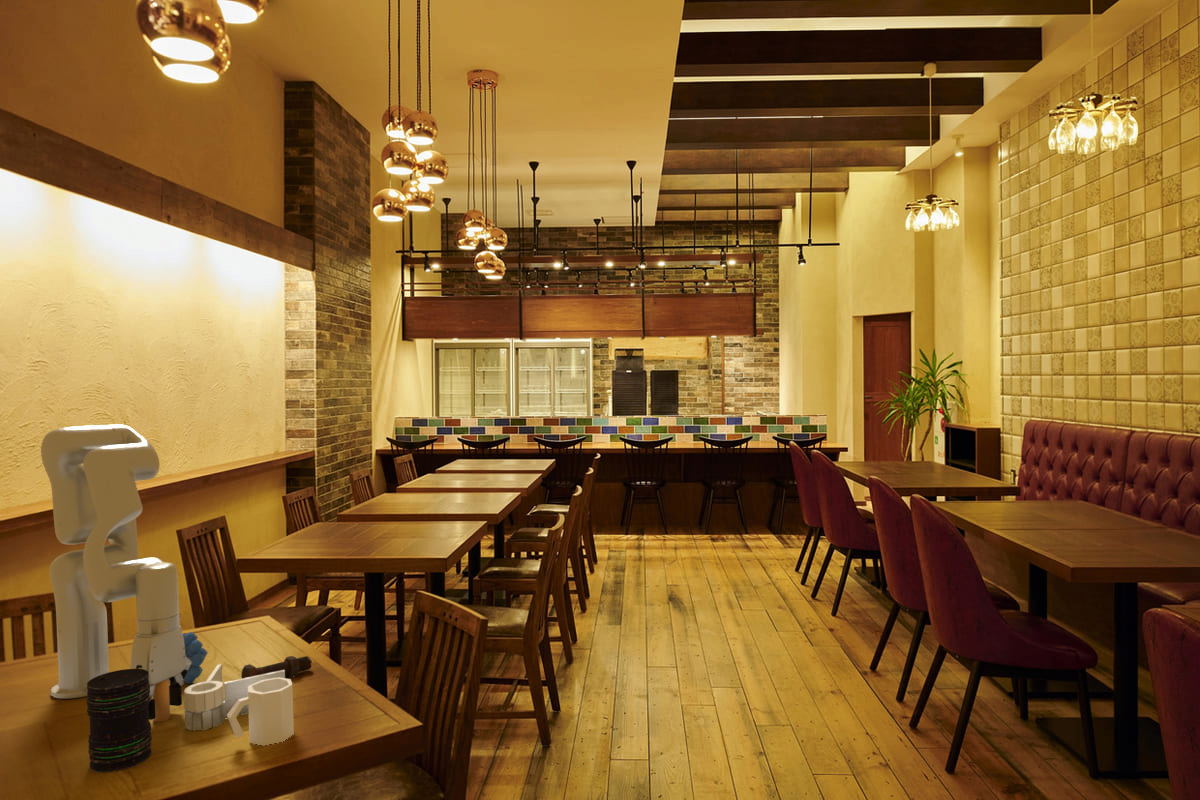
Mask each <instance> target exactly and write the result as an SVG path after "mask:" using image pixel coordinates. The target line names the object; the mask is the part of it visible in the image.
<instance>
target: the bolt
mask: <svg viewBox="0 0 1200 800" xmlns="http://www.w3.org/2000/svg"><path fill="white" fill-rule="evenodd" d="M312 663H313V661H312V659H311V658H310V656H307V655H306V656H302V657H296V656H292V655H290V656H286V657H285V659H284V661H281V662H277V663H273V664H269V665H265V666H261V667H256V666H254V665H252V664H251V663H248V664H246V665H244V667H242V669H241V679H243V678H247V677H252V676H257V675H262V674H266V673H271V672H276V671H281V670H284V671H285V677H287V676H288V677H287V678H290V677H292V678H294V677H293V676H295V677H297V676H298V675H299V673H301V672H306V671H308V670H310V669H311V668H312V666H313V665H312Z"/></svg>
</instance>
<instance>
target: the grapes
mask: <svg viewBox="0 0 1200 800" xmlns="http://www.w3.org/2000/svg"><path fill="white" fill-rule="evenodd" d="M183 638H184V645H185V656H186V657H187V658H188V659H189V660H191V662H192V663H191V665H190V667H189V669H188V671H187V674H186V676H185V678H184V683H186V684H188V685H189V684H193V682H195V681H196V679H198V678H199V677H200V676H201V675H202V672H203V668H202V667H201V665H202V664H203V662H204V661H205V659H206V657H207V655H208V654H209V653H208V651H207V650H206V649H205V648H204V647H203V646H204V644H203V643H202V642H201V641H200V640H199V639H198V636H197V634H196V633H195V632H192V631H190V632H188V633H186V632H185V633H184V632H183Z"/></svg>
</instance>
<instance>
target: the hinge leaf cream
mask: <svg viewBox="0 0 1200 800" xmlns="http://www.w3.org/2000/svg"><path fill="white" fill-rule="evenodd" d="M183 701H184V702H183V704H184V706H183V707H184V710H185V709H186V710H187V711H191V712H195V711H196V712H199V711H205V710H210V709H213V708H216V707H218V706H220V705H221V704H222V703H223V702H224V701H225V692H224V682H223V665H222V663H218V664H217V665H216V667H215V668H214V670H213V671H212V672H211V673H210V675H209V676H208V678H207V679H206V681H200V682H196V683H194V684H193V683H192V684H191V685H189V686H187V687H185V688H184V690H183Z"/></svg>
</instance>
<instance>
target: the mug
mask: <svg viewBox="0 0 1200 800" xmlns="http://www.w3.org/2000/svg"><path fill="white" fill-rule="evenodd" d="M291 679H292V678H286V677H285V678H280V677H278V678H271V679H265V680H261V681H259V682H256V683H254V684H252V685H250V686H248V697H246V698H242V699H238V701H237V702H236V703H235V705H234V706H233V707H232V709H231V710H230V711H229V713H228V714H227V717H228V719H227V720H228V722H229V724H230V727H231V729H232V732H233V734H234V736H235V737H237V738H238V739H239V738H241V737H242V736H244V735H245V733H244V731H243V729H242V727H241V725H240V723H239V720H238V719H237V717H238V716H237V715H238V714H239V712H240V711H241V709H242V707H243V706H244V705H248V710H249V714H248V734H249V735H248V736H249V737H248V738H249V739H248V740H249V744H250V743H253V744H252V745H255V744H257V745H256V746H259V745H262V746H261V747H266V746H265V745H267V746H270V745H269V744H272V745H275V744H274V743H277V744H280V743H279V742H282V743H284V742H286V741H287V740H289V739H290V738H292V737H293V736H294V735H295V730H294V728H295V727H294V725H295V724H294V722H295V721H294V698H293V697H294V696H293V693H294V692H293V682H292V680H291ZM292 735H293V736H292ZM291 736H292V737H291ZM289 737H290V738H289ZM288 738H289V739H288ZM286 739H287V740H286ZM285 740H286V741H285ZM283 741H284V742H283Z"/></svg>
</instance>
